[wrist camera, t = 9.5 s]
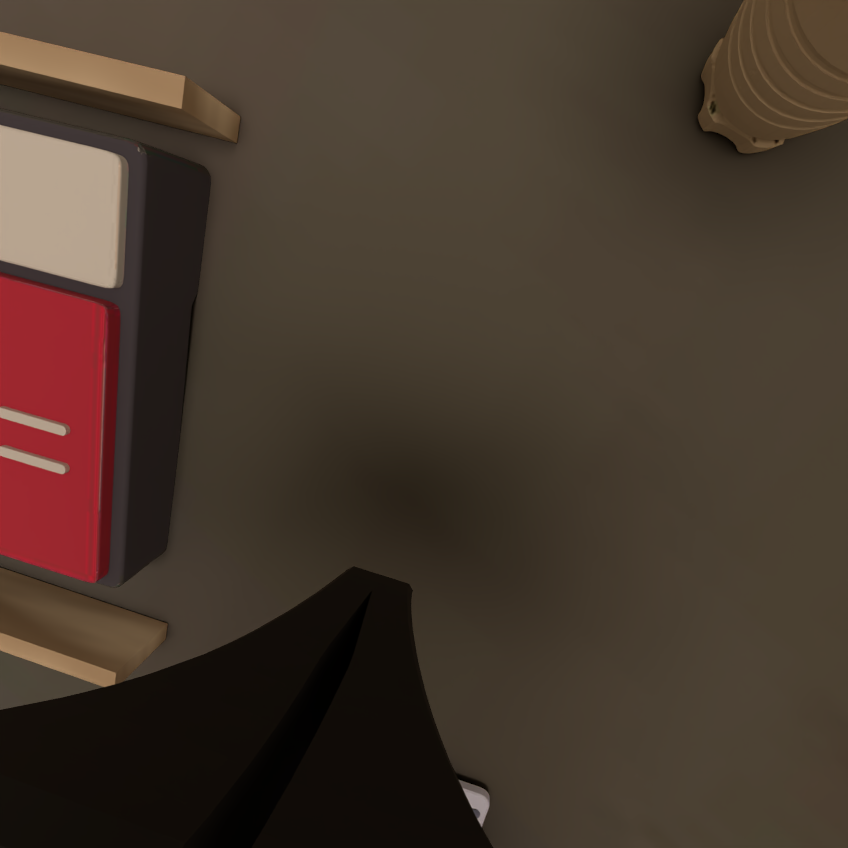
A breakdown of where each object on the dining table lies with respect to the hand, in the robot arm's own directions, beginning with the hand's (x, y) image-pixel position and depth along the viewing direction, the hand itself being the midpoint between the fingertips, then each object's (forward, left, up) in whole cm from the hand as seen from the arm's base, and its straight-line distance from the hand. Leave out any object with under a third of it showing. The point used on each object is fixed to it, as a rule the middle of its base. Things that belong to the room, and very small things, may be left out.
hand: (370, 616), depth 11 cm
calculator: (+1, +15, -9) cm, 18 cm away
